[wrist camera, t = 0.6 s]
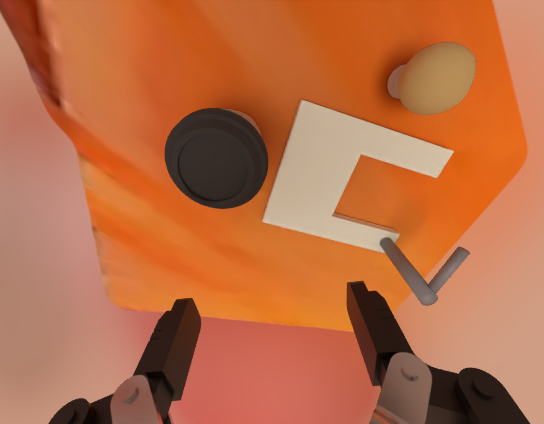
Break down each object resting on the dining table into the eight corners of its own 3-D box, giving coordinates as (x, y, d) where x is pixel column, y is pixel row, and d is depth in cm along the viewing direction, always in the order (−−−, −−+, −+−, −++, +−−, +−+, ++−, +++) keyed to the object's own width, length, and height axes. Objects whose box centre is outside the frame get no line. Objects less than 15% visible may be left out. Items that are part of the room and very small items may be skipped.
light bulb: (418, 109, 32) (477, 117, 23) (370, 110, 32) (410, 119, 23) (432, 51, 29) (506, 35, 20) (379, 52, 29) (429, 36, 20)
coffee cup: (220, 85, 30) (182, 84, 17) (280, 125, 32) (289, 153, 19) (190, 147, 34) (140, 187, 20) (247, 179, 36) (235, 234, 23)
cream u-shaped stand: (300, 99, 31) (321, 107, 19) (446, 148, 34) (543, 182, 22) (262, 217, 39) (259, 275, 27) (383, 248, 42) (430, 313, 30)
